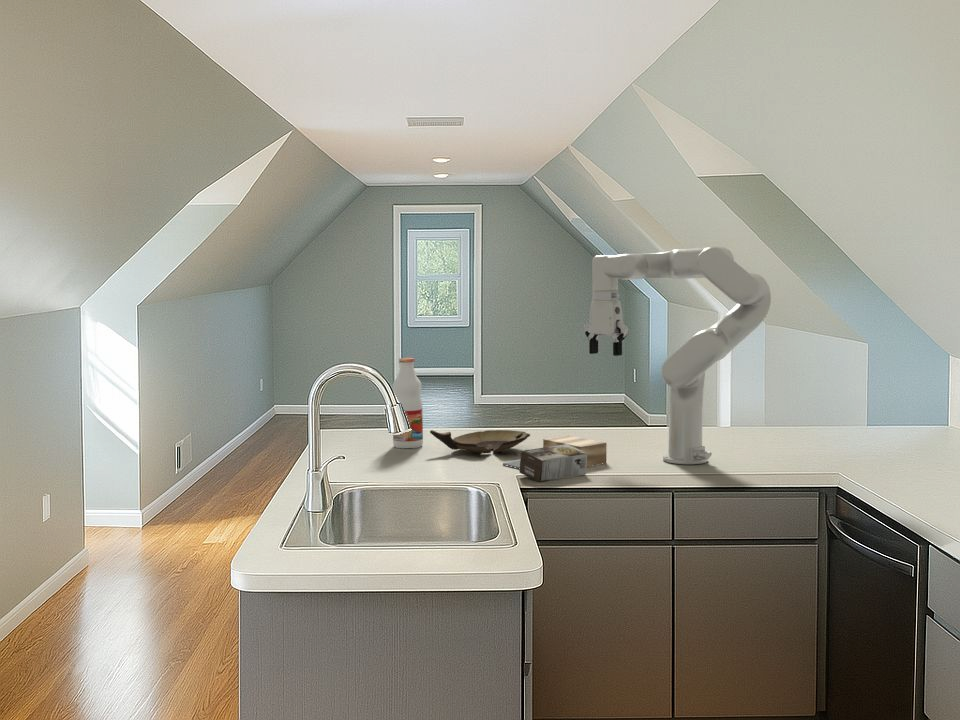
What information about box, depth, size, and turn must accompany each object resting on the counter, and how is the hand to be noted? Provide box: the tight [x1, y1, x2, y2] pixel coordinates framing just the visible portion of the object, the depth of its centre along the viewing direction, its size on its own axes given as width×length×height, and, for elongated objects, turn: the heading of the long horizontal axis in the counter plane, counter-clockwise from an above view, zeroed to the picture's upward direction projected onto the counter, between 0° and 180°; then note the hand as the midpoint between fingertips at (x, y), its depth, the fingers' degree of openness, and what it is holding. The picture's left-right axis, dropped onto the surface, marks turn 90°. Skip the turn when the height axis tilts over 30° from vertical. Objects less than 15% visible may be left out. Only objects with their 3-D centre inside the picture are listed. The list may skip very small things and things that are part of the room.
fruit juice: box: [392, 357, 424, 449], centre depth 311 cm, size 9×9×28 cm
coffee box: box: [519, 444, 588, 483], centre depth 267 cm, size 9×6×16 cm
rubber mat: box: [502, 459, 521, 469], centre depth 279 cm, size 18×14×1 cm
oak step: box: [542, 435, 608, 468], centre depth 286 cm, size 16×10×6 cm, turn 38°
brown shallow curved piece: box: [429, 429, 531, 454], centre depth 303 cm, size 22×30×8 cm
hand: (605, 354), depth 294 cm, fingers open, 9 cm apart
